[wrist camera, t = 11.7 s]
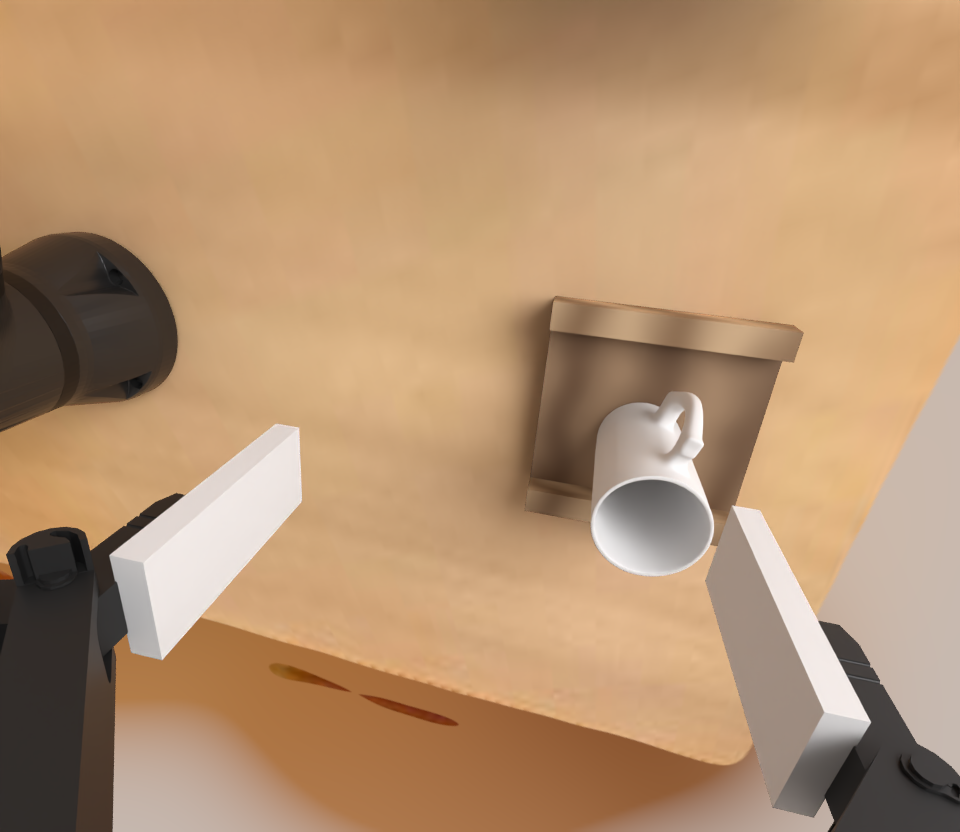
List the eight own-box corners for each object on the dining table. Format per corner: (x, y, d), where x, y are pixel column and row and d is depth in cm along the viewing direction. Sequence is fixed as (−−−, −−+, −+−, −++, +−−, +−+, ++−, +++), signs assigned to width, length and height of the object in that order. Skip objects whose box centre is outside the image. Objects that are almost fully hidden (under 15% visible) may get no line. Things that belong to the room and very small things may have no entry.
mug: (657, 491, 43) (675, 594, 32) (579, 457, 43) (571, 548, 32) (725, 382, 39) (773, 458, 28) (638, 344, 39) (652, 406, 28)
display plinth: (531, 482, 48) (524, 510, 44) (558, 289, 41) (553, 301, 37) (719, 516, 46) (731, 548, 41) (782, 317, 39) (803, 332, 35)
